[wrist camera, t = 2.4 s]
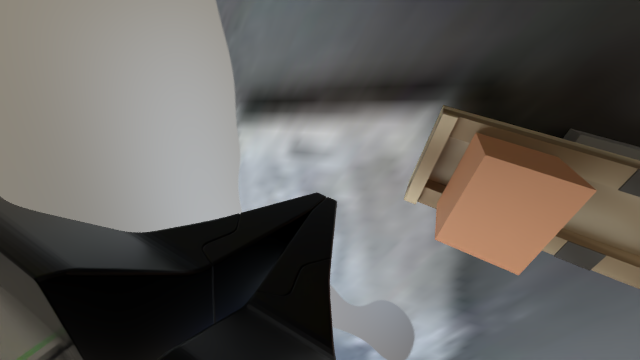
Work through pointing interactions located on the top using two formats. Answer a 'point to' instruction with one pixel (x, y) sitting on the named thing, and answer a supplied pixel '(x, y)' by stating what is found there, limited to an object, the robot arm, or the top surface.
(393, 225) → the top surface
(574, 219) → the wooden tray
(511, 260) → the block
